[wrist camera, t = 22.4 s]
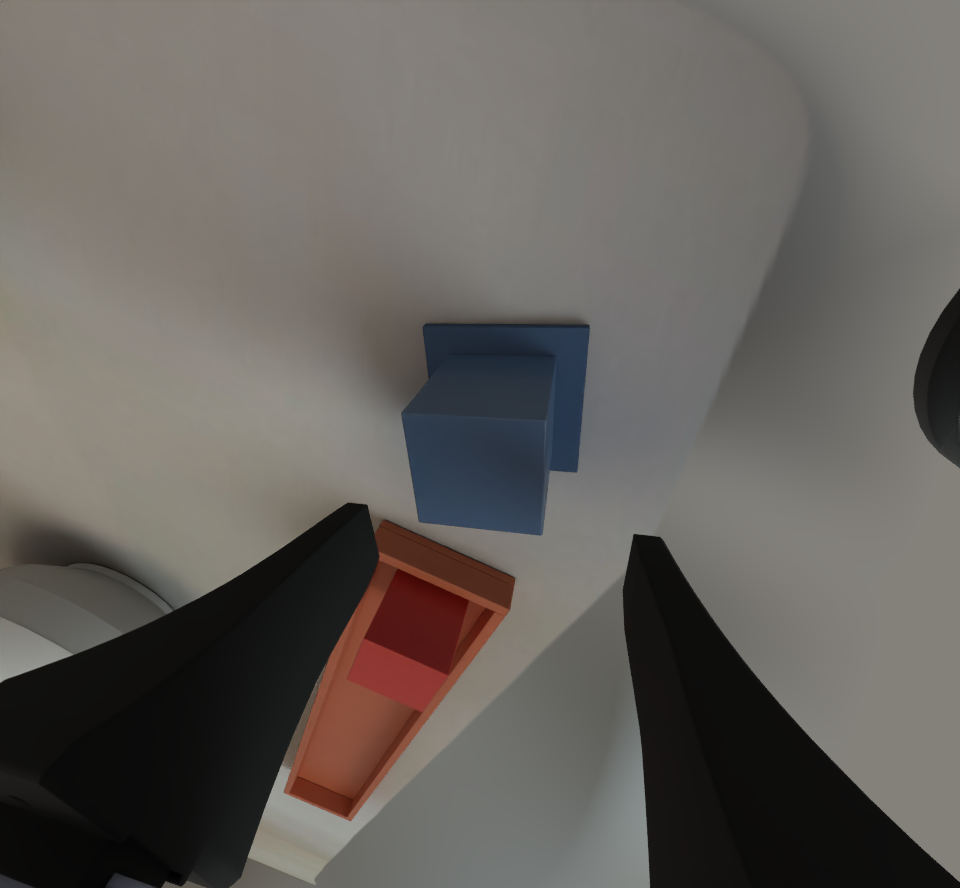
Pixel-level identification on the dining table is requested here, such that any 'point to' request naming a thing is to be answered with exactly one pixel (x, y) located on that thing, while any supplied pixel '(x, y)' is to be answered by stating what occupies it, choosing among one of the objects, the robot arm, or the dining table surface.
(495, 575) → the red tray
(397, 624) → the red block
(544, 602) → the dining table surface
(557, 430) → the blue mat
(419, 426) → the blue block
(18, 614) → the bowl
